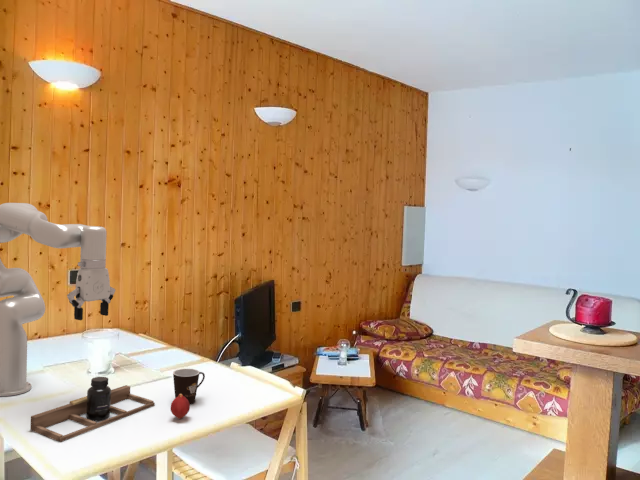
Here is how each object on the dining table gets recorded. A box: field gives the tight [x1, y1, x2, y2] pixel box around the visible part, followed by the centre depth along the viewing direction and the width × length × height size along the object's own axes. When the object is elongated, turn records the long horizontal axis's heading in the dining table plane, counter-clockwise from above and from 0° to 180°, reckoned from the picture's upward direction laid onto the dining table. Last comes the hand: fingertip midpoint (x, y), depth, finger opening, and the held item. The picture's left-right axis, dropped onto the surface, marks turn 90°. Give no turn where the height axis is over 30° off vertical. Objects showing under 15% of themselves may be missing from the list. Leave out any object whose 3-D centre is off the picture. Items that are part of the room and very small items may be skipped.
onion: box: [170, 394, 191, 420], centre depth 169 cm, size 6×6×8 cm
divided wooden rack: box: [30, 384, 156, 443], centre depth 167 cm, size 14×34×5 cm, turn 151°
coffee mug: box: [172, 368, 206, 405], centre depth 184 cm, size 12×9×10 cm
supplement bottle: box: [85, 376, 112, 422], centre depth 167 cm, size 7×7×12 cm
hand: (91, 317), depth 176 cm, fingers open, 9 cm apart
